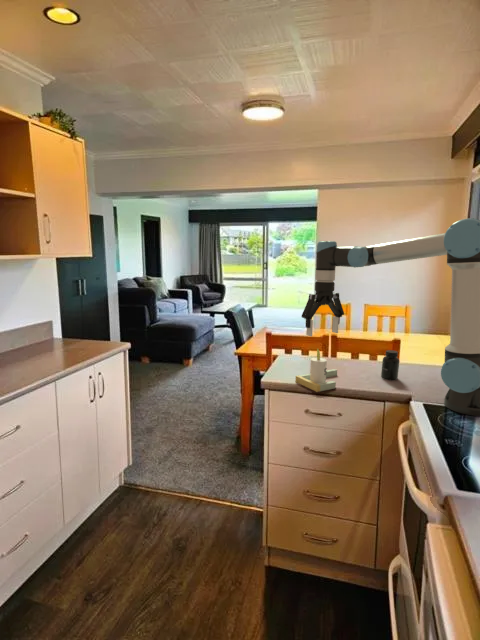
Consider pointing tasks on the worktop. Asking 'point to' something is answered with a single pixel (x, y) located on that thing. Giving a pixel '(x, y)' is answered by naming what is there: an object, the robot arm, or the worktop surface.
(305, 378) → the rail
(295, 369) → the worktop surface
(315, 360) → the candle
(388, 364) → the supplement bottle
